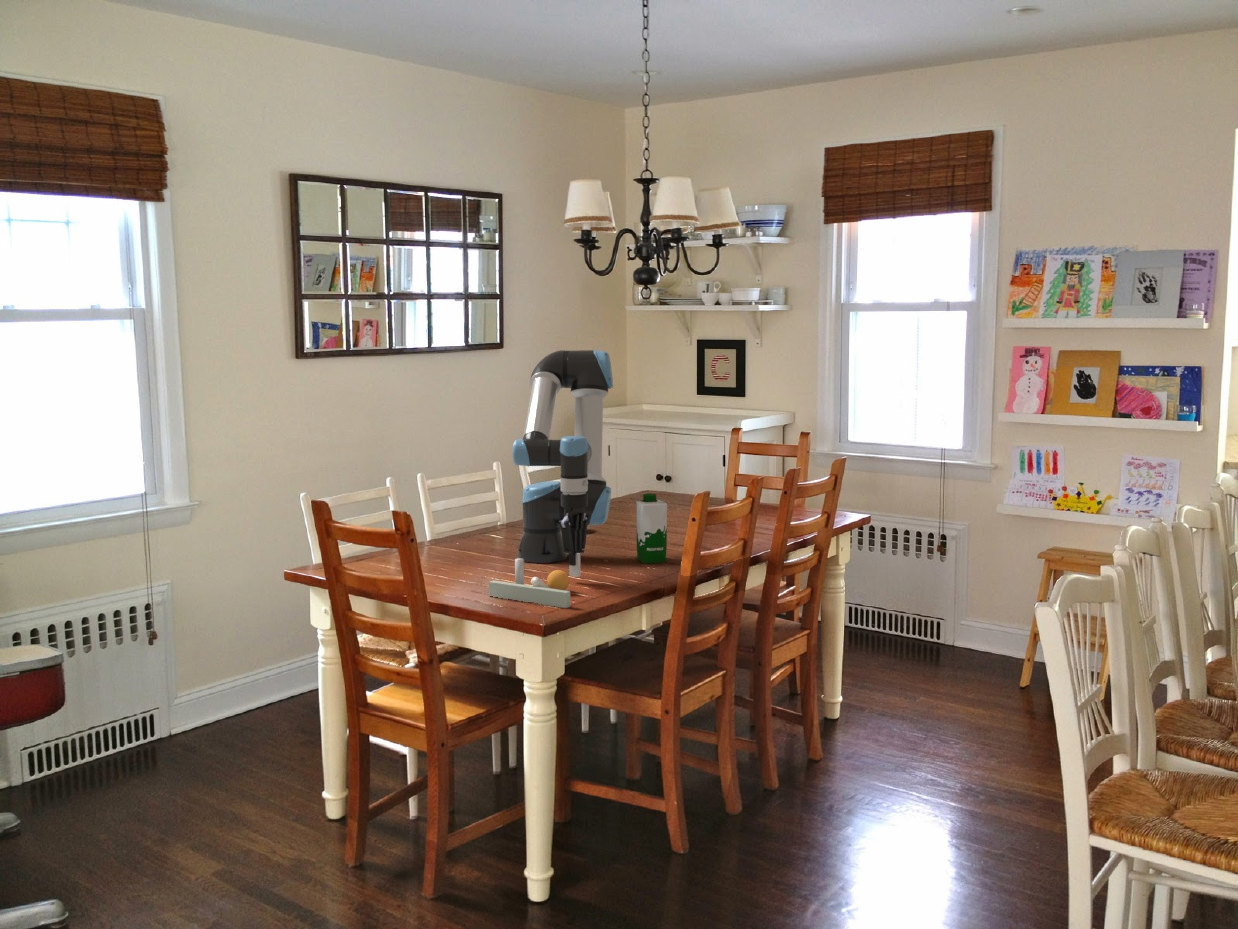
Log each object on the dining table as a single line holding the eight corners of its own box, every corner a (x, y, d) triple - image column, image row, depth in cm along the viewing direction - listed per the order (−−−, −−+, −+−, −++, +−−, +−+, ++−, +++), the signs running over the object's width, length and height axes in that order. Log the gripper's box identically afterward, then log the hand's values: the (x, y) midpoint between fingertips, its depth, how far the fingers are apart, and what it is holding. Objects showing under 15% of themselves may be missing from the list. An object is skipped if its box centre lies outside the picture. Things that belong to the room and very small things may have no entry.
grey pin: (513, 590, 298) (513, 559, 297) (518, 588, 300) (518, 557, 299) (520, 591, 297) (520, 560, 296) (525, 589, 299) (525, 558, 298)
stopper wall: (489, 596, 291) (488, 582, 291) (493, 595, 293) (493, 580, 293) (566, 608, 280) (566, 592, 279) (570, 606, 282) (570, 591, 281)
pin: (541, 593, 294) (529, 584, 286) (544, 585, 294) (533, 575, 287) (549, 596, 293) (537, 586, 285) (552, 587, 293) (540, 578, 286)
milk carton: (660, 556, 339) (661, 492, 337) (670, 563, 331) (670, 497, 328) (633, 558, 337) (633, 494, 334) (642, 564, 328) (642, 498, 326)
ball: (548, 565, 294) (556, 568, 300) (540, 586, 294) (549, 589, 300) (567, 573, 292) (575, 575, 298) (559, 594, 292) (567, 596, 297)
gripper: (573, 497, 295) (574, 582, 299) (597, 490, 307) (598, 572, 310) (550, 494, 299) (550, 579, 302) (574, 488, 310) (575, 569, 314)
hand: (574, 576), depth 306 cm, fingers closed
